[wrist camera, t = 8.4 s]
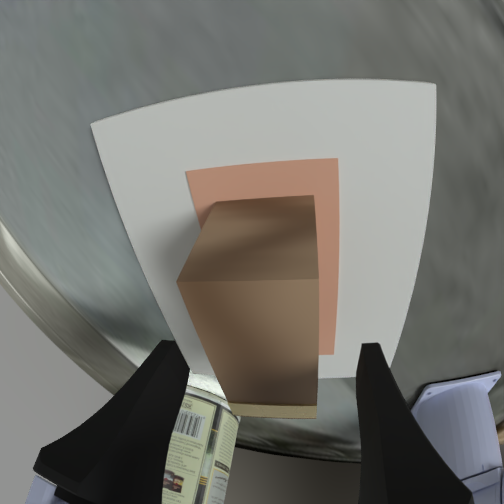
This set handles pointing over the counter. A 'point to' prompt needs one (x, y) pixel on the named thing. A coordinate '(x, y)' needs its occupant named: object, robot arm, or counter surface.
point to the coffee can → (200, 450)
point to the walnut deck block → (258, 303)
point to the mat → (286, 193)
